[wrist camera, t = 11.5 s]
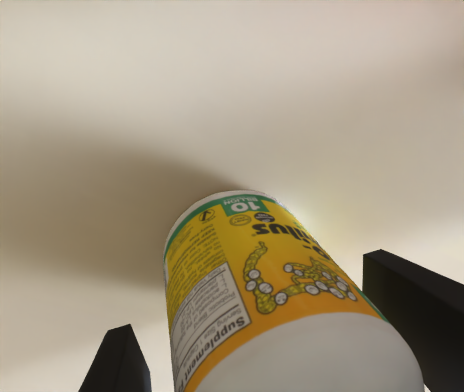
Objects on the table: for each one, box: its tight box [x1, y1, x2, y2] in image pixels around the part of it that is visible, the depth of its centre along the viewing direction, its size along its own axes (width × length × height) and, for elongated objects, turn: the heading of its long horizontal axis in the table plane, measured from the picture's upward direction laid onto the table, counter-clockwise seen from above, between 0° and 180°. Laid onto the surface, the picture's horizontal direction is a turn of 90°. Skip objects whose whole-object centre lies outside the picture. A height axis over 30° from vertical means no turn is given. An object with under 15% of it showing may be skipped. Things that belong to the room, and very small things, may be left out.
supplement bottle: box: [163, 190, 425, 392], centre depth 9 cm, size 5×5×10 cm
